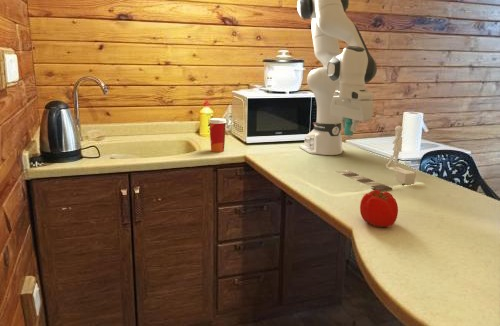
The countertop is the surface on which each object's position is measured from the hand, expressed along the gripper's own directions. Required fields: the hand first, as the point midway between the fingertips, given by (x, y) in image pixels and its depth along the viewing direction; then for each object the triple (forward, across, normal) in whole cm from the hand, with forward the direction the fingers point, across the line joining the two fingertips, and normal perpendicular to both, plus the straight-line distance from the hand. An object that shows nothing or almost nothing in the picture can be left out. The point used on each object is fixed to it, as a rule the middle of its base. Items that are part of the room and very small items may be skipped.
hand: (348, 130), depth 152 cm
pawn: (+2, 0, 0) cm, 2 cm away
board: (+17, +9, 0) cm, 19 cm away
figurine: (+17, +2, +22) cm, 28 cm away
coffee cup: (+17, -56, -31) cm, 66 cm away
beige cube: (+17, +17, +13) cm, 28 cm away
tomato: (+18, +42, -22) cm, 50 cm away
